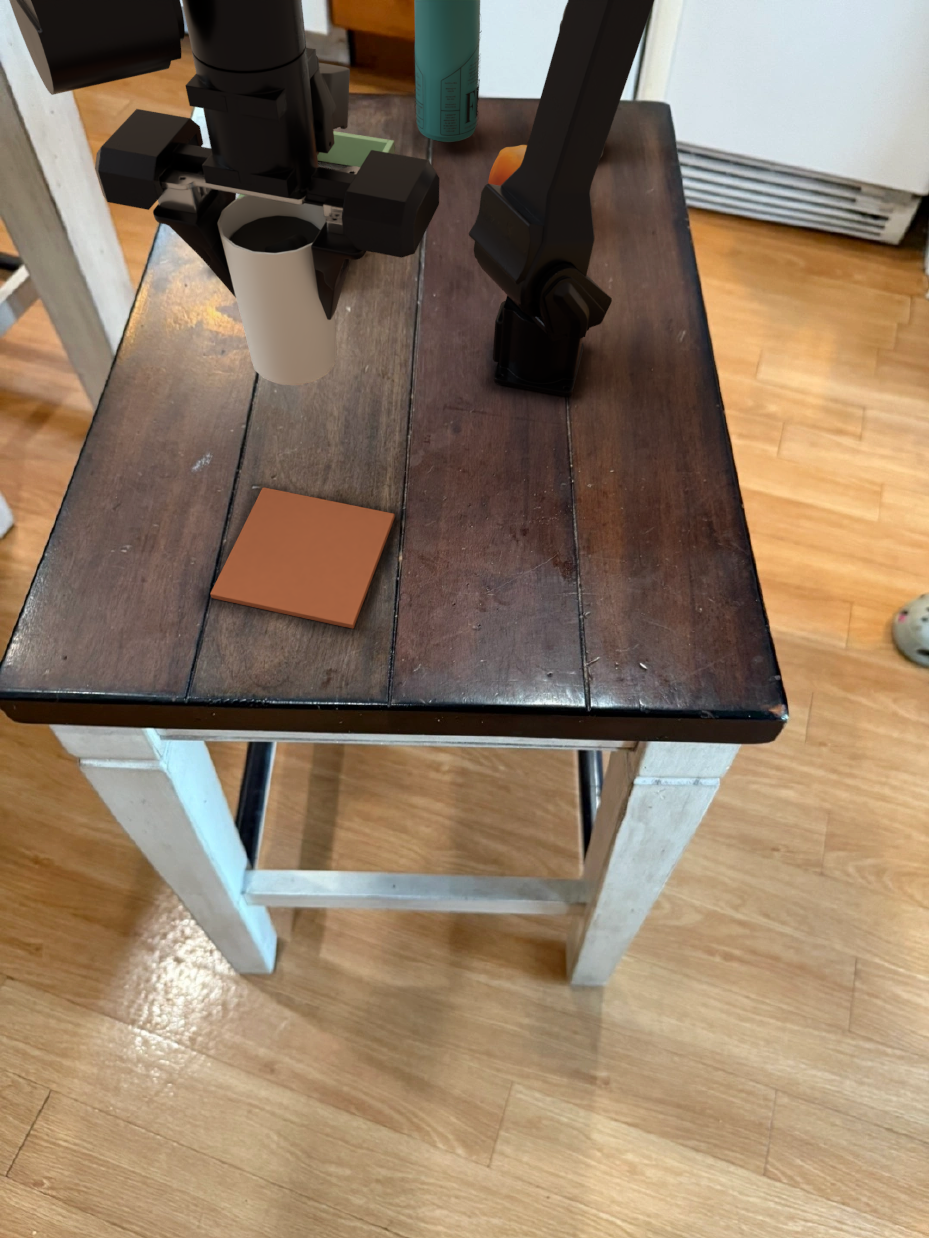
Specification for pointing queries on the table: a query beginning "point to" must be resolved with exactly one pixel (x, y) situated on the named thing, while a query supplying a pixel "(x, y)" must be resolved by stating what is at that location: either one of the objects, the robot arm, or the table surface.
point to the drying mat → (305, 557)
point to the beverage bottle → (447, 68)
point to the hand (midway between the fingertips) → (288, 307)
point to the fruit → (506, 164)
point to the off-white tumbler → (278, 287)
